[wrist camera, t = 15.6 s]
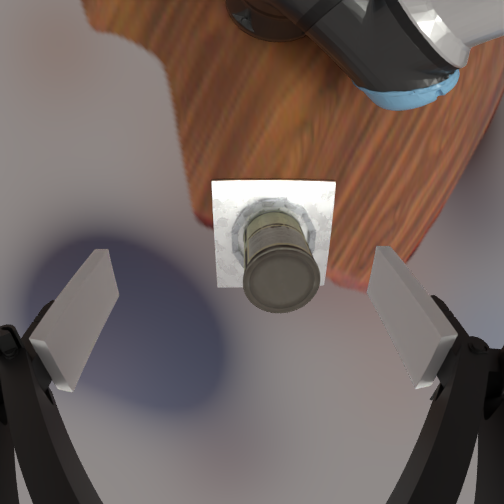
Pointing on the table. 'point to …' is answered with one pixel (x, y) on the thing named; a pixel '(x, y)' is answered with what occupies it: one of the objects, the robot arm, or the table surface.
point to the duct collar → (263, 199)
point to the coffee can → (278, 263)
